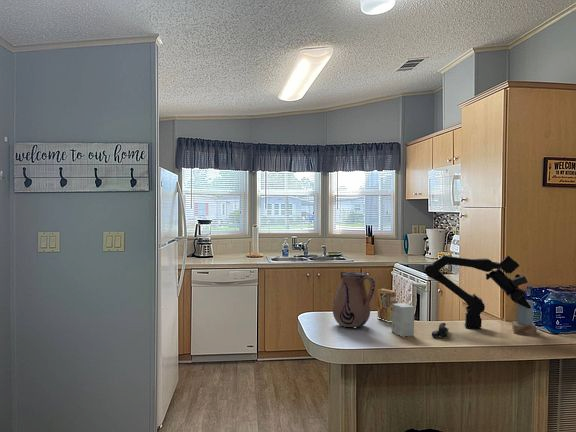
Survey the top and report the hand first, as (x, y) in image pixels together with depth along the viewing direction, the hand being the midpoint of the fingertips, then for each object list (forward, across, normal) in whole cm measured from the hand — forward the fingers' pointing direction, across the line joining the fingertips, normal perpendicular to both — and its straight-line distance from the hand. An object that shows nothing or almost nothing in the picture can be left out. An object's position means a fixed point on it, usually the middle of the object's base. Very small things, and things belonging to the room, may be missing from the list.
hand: (528, 306), depth 206 cm
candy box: (-36, -2, +54) cm, 65 cm away
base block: (+8, 0, +10) cm, 13 cm away
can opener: (-18, -18, +36) cm, 44 cm away
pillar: (+5, 0, +7) cm, 9 cm away
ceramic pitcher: (-45, -20, +63) cm, 80 cm away
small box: (-30, -25, +47) cm, 61 cm away
